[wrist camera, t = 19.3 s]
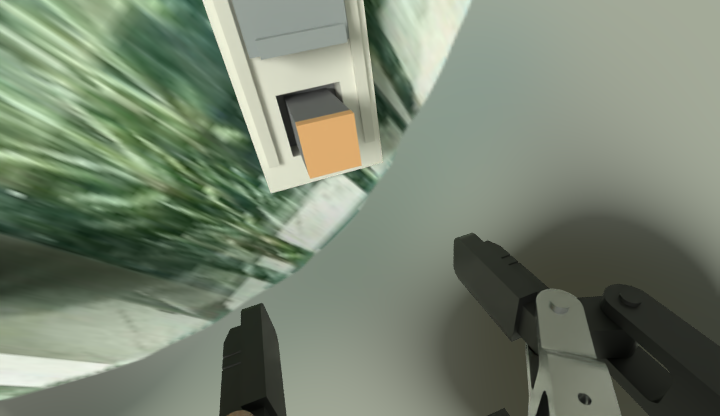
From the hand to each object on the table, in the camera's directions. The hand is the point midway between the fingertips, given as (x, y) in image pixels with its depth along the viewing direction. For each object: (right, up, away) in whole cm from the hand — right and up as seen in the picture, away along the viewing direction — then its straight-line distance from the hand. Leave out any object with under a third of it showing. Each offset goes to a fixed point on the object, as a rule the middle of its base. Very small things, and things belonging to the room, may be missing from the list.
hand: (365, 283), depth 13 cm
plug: (-5, +12, +19) cm, 24 cm away
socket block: (-6, +16, +18) cm, 25 cm away
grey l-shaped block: (-6, +19, +11) cm, 23 cm away
